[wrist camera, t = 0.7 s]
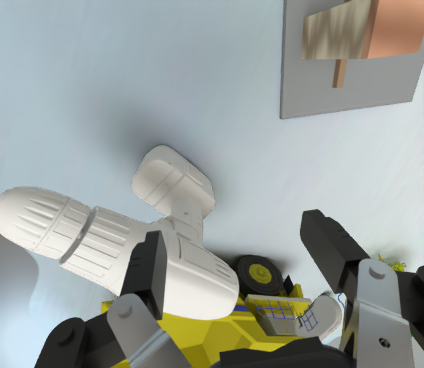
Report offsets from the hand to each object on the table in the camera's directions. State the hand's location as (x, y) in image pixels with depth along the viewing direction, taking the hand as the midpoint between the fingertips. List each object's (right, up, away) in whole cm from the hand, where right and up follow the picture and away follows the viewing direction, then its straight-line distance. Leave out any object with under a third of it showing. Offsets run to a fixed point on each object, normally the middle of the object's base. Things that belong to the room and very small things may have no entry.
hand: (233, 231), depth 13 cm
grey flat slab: (+28, -35, +55) cm, 71 cm away
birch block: (+14, +24, +19) cm, 34 cm away
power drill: (-10, +6, +28) cm, 30 cm away
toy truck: (-4, -21, +44) cm, 49 cm away
